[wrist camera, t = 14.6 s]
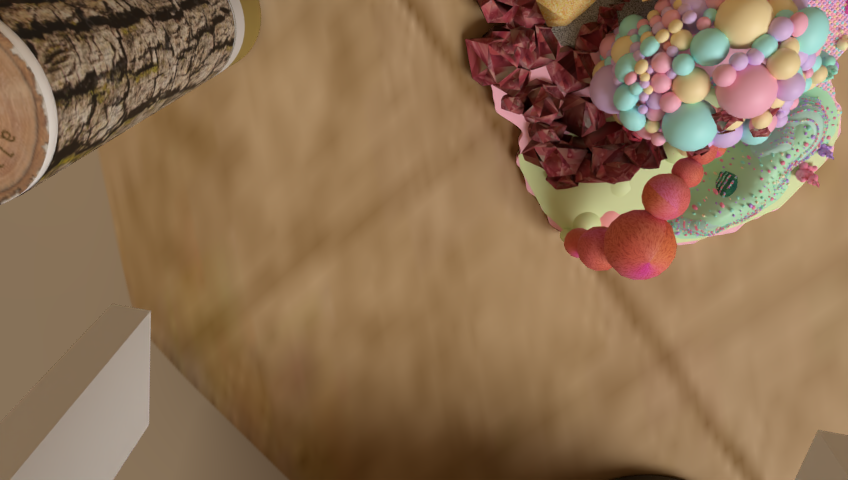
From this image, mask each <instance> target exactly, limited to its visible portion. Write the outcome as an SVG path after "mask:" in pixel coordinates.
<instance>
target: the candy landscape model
mask: <svg viewBox="0 0 848 480" xmlns="http://www.w3.org/2000/svg"><path fill="white" fill-rule="evenodd" d="M477 2H478V4H479V6H480V9H481V11H482V13H483V15H484V17H485V19H486V21H487V23H505V26H497V25H495V26H493V27H492V28H491V29H490V30H489V31H488V32H487V33H486V34H485V35H483V38H476V39H465V41H466V47H467V52H468V57H469V63H470V68H471V74H472V78H473V79H474V80H475V81H477V82H478V83H479V84H481V85H482V86H486V85H491V87H492V91H493V99H494V102H495V109H496V111H497V113H498V114H500V115H501V116H503V117H504V118H506V119H507V120H509V121H510V122H512V123H513V124H515V125H516V126H517V127H519V128H520V129H521V131H522V133H521V134H520V136H519V138H518V142H519V147H520V150H519V151H518V153H517V155H516V163H517V165H518V166H519V167H520V169H521V171H522V173H523V175H524V177H525V181H526V188H527V190H528V191H529V192H530V193H531V194H532V195H534V196H535V197H536V198H537V200H538V202H539V204H540V207H541V209H542V210H543V211H544V213H545V214H546V215H547V217H548V221H549V223H550V224H551V225H552V226H553V227H554V228H556V229H557V230H559V231H560V232H561V233H560V238H561V240H562V241H563V242H564V246H565V249H566V251H567V252H568V253H569V254H570V255H571V256H573V257H576V258H580V260H581V261H582V262H583V263H584V264H585V265H586V266H587V267H588V268H590V269H593V270H596V271H599V270H608V269H610V268H612V267H613V268H614V269H615V270H616V271H617V272H618V273H619V274H620V275H621V276H624V277H627V278H630V279H632V280H646V279H649V278H652V277H655V276H658V275H659V274H661V273H662V272H663V271H664V270H666V269H667V268H668V267H669V265H670V264H671V262H672V261H673V259H674V258H675V254H676V248H677V244H678V245H684V244H693V243H696V242H697V241H698V240H701V239H703V238H706V237H710V236H714V235H722V234H726V233H734V232H736V231H737V230H738V229H739V228H740V227H741V226H742V225H743V224H744V223H746V222H748V221H750V220H753V219H758V218H759V217H760V216H762V215H764V214H766V213H768V212H771V211H775V210H777V209H778V208H780V207H781V206H782V205H783V204H784V203H785V202H786V201H787V200H788V199H789V198H790V197H791V196H792V195H793V194H794V193H795V192H796V191H797V190H798V189H799V188H800V187H801V186H802V185H803V184H804V183H805V182H806V181H807V182H808V183H809V184H812V185H817V187H819V183H818V182H817V181H818V175H816V174H814V172H815V171H816V170H817V169H818V168H819V167H820V166H821V165H822V164H823V163H824V162H825V161H826V160H827V159H828V158H832V159H833V160H834V157H833V151H834V143H835V141H836V139H837V137H838V136H839V135H840V132H841V128H840V124H841V114H842V111H841V106H840V105H839V104H838V103H837V102H836V100H835V87H833V85H832V84H831V79H833V78H834V76H833V75H836V74H837V73H838V69H839V64H838V62H837V61H836V60H837V59H838V58H839V57H840V56H841V55H842V54H843V52H844V51H845V50H846V49H847V48H848V0H477Z"/></svg>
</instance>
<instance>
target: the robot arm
mask: <svg viewBox="0 0 848 480" xmlns="http://www.w3.org/2000/svg"><path fill="white" fill-rule="evenodd" d="M150 334H151V311H150V310H144V309H138V308H133V307H127V306H121V305H116V304H111V305H110V306H109V307H108V308H107V310H106V311H105V312H104V313H103V314H102V315H101V316H100V317H99V318H98V319H97V320H96V321H95V322H94V323H93V324H92V325H91V327H90V328H89V329H88V330H87V331H86V332H85V333H84V334H83V335H82V336H81V337H80V338H79V339H78V340H77V341H76V342H75V343H74V344H73V346H72V347H71V348H70V349H69V350H68V351H67V352H66V353H65V354H64V355H63V356H62V357H61V358H60V359H59V360H58V361H57V362H56V363H55V364H54V366H53V367H52V368H51V369H50V370H49V371H48V372H47V373H46V374H45V375H44V376H43V377H42V378H41V379H40V380H39V382H38V383H37V384H36V385H35V386H34V387H33V388H32V389H31V390H30V391H29V392H28V393H27V394H26V395H25V396H24V398H22V399H21V400H20V402H19V403H18V404H17V405H16V406H15V407H14V408H13V409H12V410H11V411H10V412H9V413H8V414H7V415H6V416H5V417H4V419H3V420H2V421H1V422H0V480H113V479H114V478H115V476H116V475H117V473H118V472H119V470H120V469H121V467H122V465H123V464H124V462H125V461H126V459H127V458H128V456H129V455H130V453H131V452H132V450H133V449H134V447H135V446H136V444H137V442H138V441H139V439H140V438H141V436H142V434H143V433H144V432H145V430H146V429H147V427H148V425H149V400H150V399H149V398H150ZM615 480H679V479H675V478H670V477H664V476H653V475H641V476H630V477H624V478H619V479H615ZM795 480H848V435H844V434H838V433H833V432H827V431H822V430H818V431H817V433H816V435H815V438H814V440H813V442H812V444H811V446H810V448H809V450H808V453H807V455H806V457H805V459H804V461H803V463H802V465H801V468H800V470H799V472H798V474H797V476H796V478H795Z"/></svg>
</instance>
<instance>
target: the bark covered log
mask: <svg viewBox="0 0 848 480" xmlns="http://www.w3.org/2000/svg"><path fill="white" fill-rule="evenodd" d="M260 25H261V9H260V4H259V0H0V205H1V204H3V203H6V202H8V201H10V200H12V199H14V198H16V197H18V196H20V195H22V194H24V193H25V192H27V191H28V190H30V189H32V188H33V187H35V186H36V185H38V184H40V183H42V182H43V181H45V180H46V179H48V178H50V177H51V176H53V175H55V174H56V173H58V172H59V171H61V170H62V169H64V168H66V167H68V166H69V165H71V164H72V163H74V162H76V161H77V160H79V159H81V158H82V157H84V156H85V155H87V154H89V153H90V152H92V151H94V150H95V149H97V148H98V147H100V146H102V145H103V144H105V143H107V142H108V141H110V140H111V139H113V138H115V137H116V136H118V135H120V134H121V133H123V132H124V131H126V130H128V129H129V128H131V127H133V126H134V125H136V124H137V123H139V122H141V121H142V120H144V119H146V118H147V117H149V116H151V115H152V114H154V113H155V112H157V111H159V110H160V109H162V108H164V107H165V106H167V105H168V104H170V103H172V102H173V101H175V100H177V99H178V98H180V97H181V96H183V95H185V94H186V93H188V92H190V91H191V90H193V89H194V88H196V87H198V86H199V85H201V84H203V83H204V82H206V81H207V80H209V79H211V78H212V77H214V76H216V75H217V74H219V73H220V72H222V71H223V70H225V69H226V68H228V67H229V66H231V65H233V64H234V63H236V62H238V61H239V60H241V59H242V58H243V57H244V56H245V55H246V54H247V53H248V52H249V51H250V50H251V48H252V47H253V45H254V43H255V41H256V39H257V37H258V34H259V30H260Z"/></svg>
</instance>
